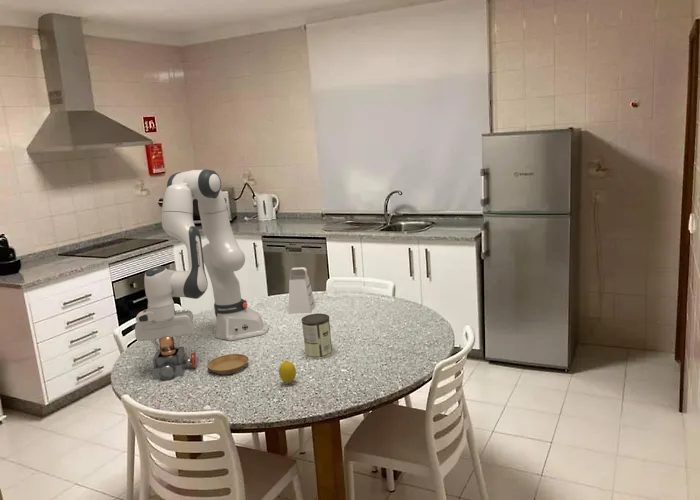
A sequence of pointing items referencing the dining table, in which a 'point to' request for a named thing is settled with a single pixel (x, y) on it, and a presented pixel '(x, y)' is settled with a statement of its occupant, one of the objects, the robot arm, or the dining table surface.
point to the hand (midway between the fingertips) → (168, 348)
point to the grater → (300, 293)
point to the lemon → (287, 371)
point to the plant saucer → (228, 363)
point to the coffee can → (317, 336)
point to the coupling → (167, 346)
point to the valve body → (172, 364)
